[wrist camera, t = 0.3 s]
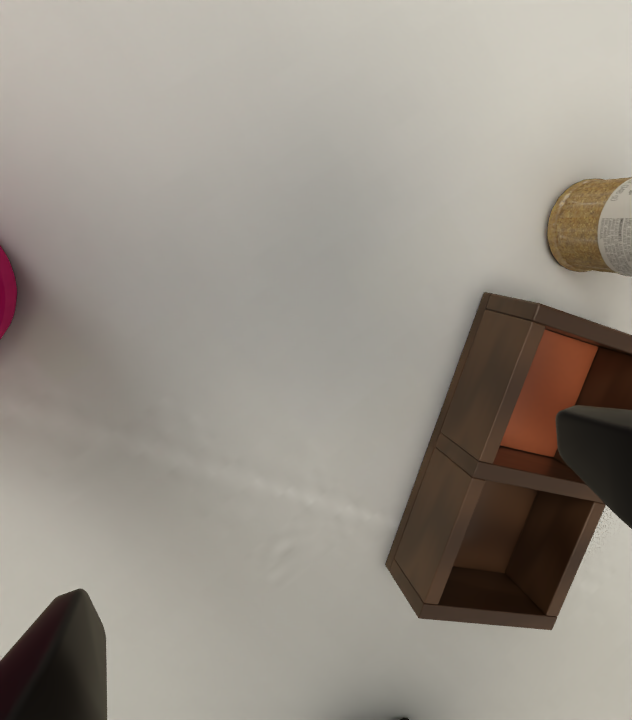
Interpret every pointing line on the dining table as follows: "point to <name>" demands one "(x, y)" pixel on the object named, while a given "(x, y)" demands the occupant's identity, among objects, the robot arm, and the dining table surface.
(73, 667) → the robot arm
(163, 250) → the dining table surface
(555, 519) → the wooden divided tray
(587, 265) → the sprinkles bottle
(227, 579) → the dining table surface
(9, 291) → the pepper mill
